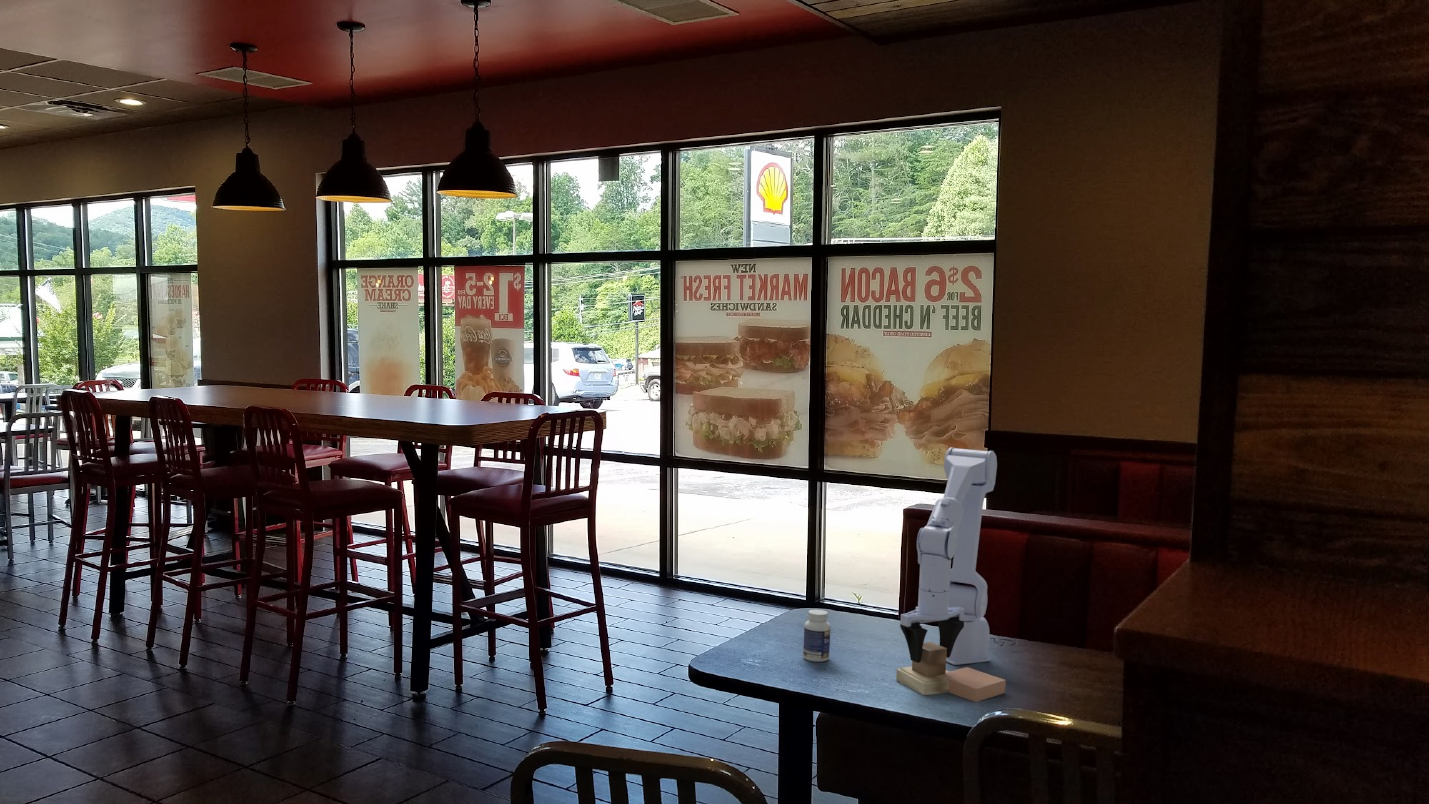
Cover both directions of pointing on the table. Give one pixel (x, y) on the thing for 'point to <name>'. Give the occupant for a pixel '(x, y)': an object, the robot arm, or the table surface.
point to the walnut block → (931, 660)
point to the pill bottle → (816, 636)
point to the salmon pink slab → (974, 684)
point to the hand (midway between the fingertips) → (930, 658)
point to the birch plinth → (922, 681)
